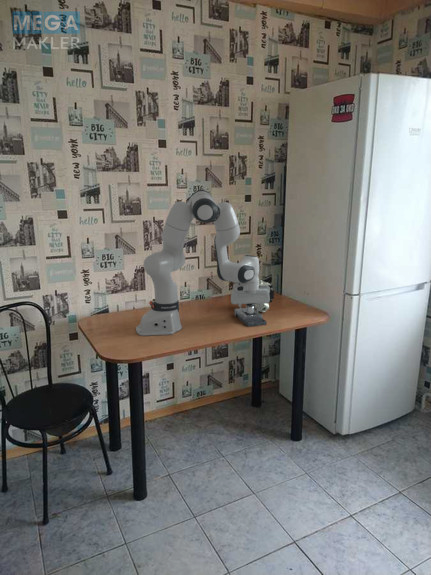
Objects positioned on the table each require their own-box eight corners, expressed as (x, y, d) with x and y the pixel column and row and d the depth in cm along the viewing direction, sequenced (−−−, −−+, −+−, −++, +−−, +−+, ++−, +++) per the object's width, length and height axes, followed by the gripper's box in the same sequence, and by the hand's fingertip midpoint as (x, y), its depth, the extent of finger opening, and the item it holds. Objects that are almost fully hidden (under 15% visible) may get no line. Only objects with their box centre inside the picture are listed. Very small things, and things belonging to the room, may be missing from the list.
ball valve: (275, 314, 228) (276, 282, 224) (262, 316, 225) (262, 284, 221) (260, 305, 244) (261, 276, 240) (247, 307, 241) (247, 277, 237)
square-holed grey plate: (247, 326, 208) (248, 319, 208) (234, 315, 227) (234, 308, 226) (266, 324, 211) (266, 318, 210) (251, 313, 230) (251, 307, 229)
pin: (248, 321, 216) (248, 305, 214) (244, 319, 220) (244, 302, 218) (255, 320, 218) (256, 304, 215) (251, 318, 222) (252, 301, 220)
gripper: (268, 283, 219) (268, 308, 222) (230, 285, 217) (230, 310, 220) (271, 286, 213) (270, 312, 216) (232, 287, 211) (231, 314, 214)
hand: (250, 311), depth 218 cm, fingers open, 7 cm apart
